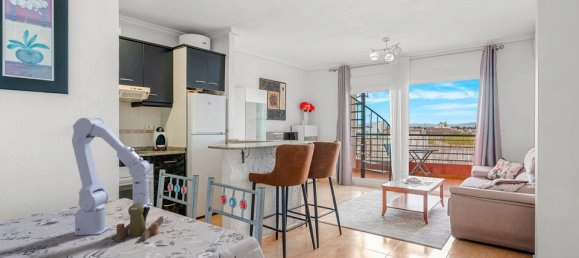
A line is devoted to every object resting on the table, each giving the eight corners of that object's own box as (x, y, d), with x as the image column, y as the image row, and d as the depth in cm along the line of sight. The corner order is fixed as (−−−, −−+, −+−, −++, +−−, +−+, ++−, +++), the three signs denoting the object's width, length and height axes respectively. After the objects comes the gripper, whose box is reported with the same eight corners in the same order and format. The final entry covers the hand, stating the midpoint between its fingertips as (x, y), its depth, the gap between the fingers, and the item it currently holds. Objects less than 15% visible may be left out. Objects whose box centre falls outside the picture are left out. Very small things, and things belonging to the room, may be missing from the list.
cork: (139, 237, 116) (137, 210, 113) (125, 235, 117) (122, 208, 114) (150, 229, 121) (148, 203, 119) (136, 227, 123) (134, 201, 120)
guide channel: (108, 242, 111) (108, 231, 111) (132, 223, 132) (132, 213, 132) (151, 240, 112) (150, 229, 112) (168, 222, 133) (168, 212, 133)
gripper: (144, 196, 115) (145, 233, 115) (157, 188, 129) (157, 220, 130) (124, 196, 114) (125, 233, 115) (139, 188, 129) (140, 221, 129)
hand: (141, 227), depth 122 cm, fingers closed, pressing on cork
